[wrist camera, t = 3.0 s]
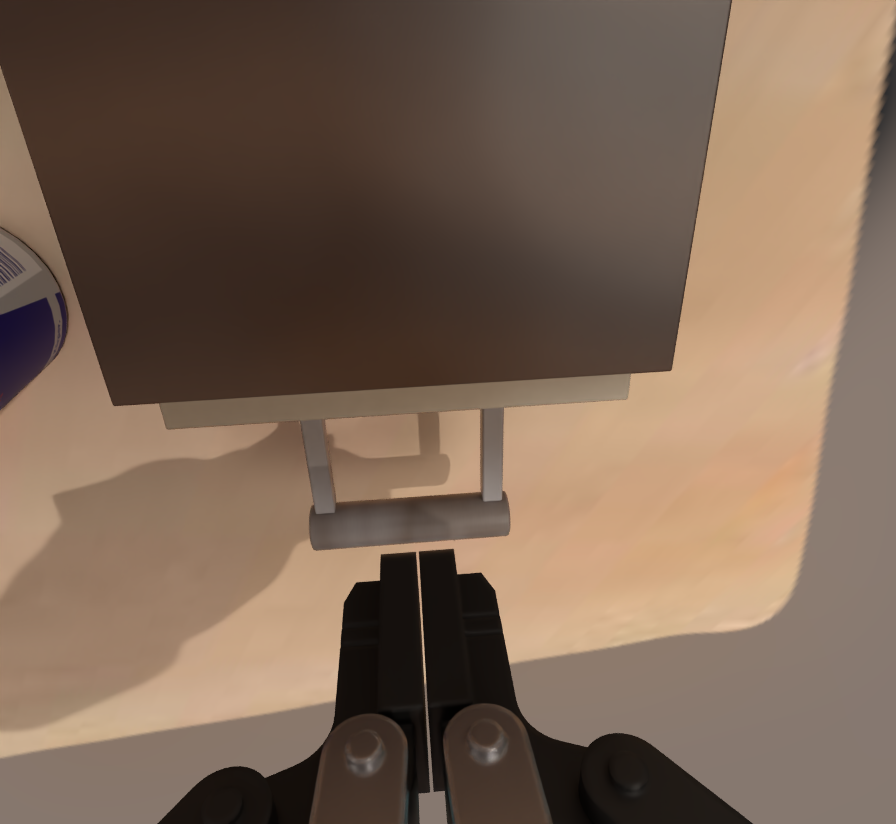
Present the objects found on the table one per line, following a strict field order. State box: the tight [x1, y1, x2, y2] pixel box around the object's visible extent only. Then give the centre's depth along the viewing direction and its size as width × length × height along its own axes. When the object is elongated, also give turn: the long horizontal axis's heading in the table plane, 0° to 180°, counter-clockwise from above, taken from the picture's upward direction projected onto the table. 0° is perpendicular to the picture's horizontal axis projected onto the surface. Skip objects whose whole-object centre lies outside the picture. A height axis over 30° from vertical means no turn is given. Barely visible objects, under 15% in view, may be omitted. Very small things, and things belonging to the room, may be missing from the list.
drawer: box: [159, 374, 631, 551], centre depth 16 cm, size 19×11×5 cm, turn 2°
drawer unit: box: [0, 0, 732, 406], centre depth 14 cm, size 15×13×7 cm
